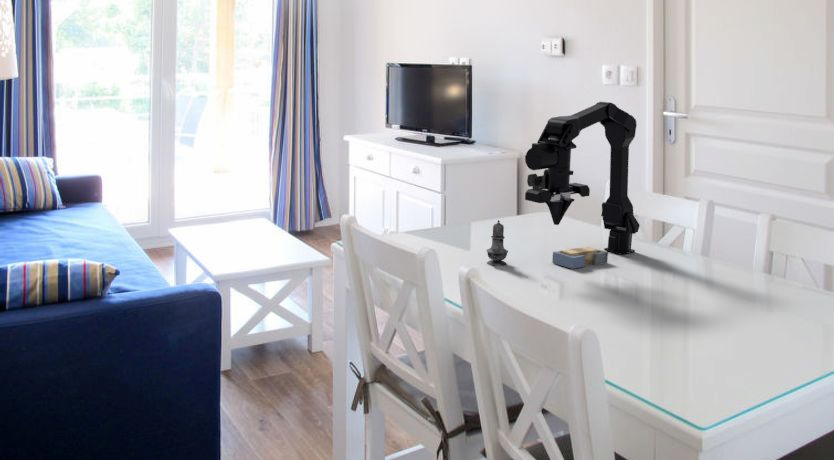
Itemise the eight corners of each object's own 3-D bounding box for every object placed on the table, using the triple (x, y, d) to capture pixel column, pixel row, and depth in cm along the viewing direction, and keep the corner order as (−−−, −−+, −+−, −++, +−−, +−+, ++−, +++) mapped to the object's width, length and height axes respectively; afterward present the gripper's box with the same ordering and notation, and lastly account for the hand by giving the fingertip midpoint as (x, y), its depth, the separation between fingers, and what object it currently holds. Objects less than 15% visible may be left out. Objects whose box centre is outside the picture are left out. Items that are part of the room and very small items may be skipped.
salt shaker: (506, 267, 236) (508, 223, 233) (484, 265, 237) (486, 221, 234) (508, 261, 241) (510, 218, 239) (487, 260, 242) (489, 217, 240)
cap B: (564, 260, 243) (564, 249, 242) (584, 266, 237) (584, 255, 237) (552, 262, 241) (552, 252, 240) (572, 268, 235) (573, 257, 234)
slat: (587, 260, 246) (588, 246, 245) (597, 263, 242) (598, 249, 241) (559, 264, 240) (560, 250, 240) (569, 268, 237) (570, 253, 236)
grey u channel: (586, 257, 248) (587, 246, 248) (607, 262, 243) (607, 252, 242) (575, 259, 246) (576, 248, 245) (595, 265, 240) (596, 254, 239)
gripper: (562, 159, 243) (559, 215, 247) (511, 165, 232) (509, 223, 236) (592, 165, 234) (589, 222, 238) (541, 171, 223) (539, 231, 227)
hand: (556, 224), depth 235 cm, fingers closed
